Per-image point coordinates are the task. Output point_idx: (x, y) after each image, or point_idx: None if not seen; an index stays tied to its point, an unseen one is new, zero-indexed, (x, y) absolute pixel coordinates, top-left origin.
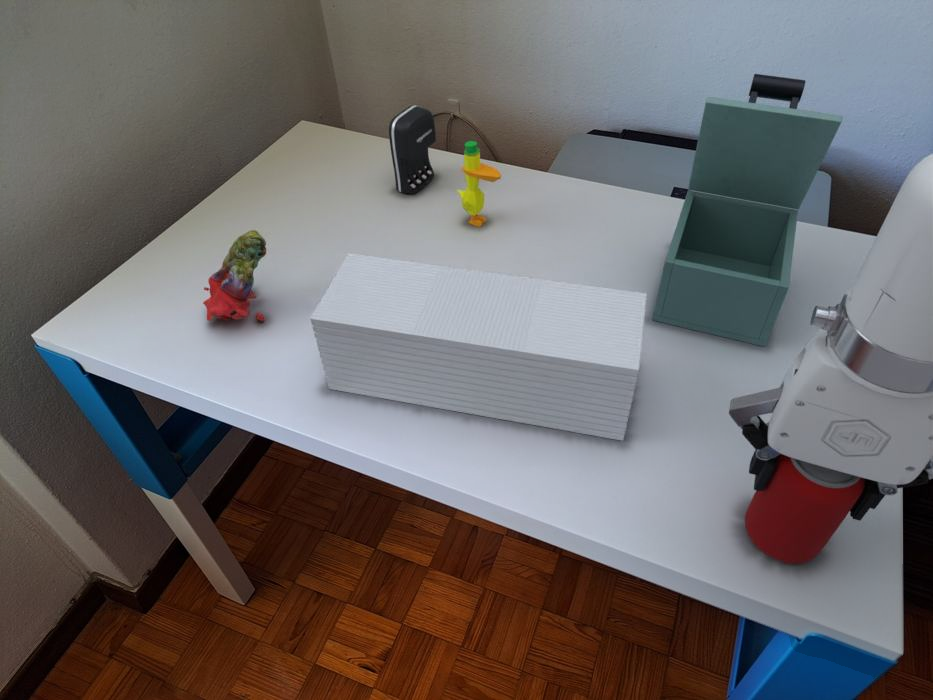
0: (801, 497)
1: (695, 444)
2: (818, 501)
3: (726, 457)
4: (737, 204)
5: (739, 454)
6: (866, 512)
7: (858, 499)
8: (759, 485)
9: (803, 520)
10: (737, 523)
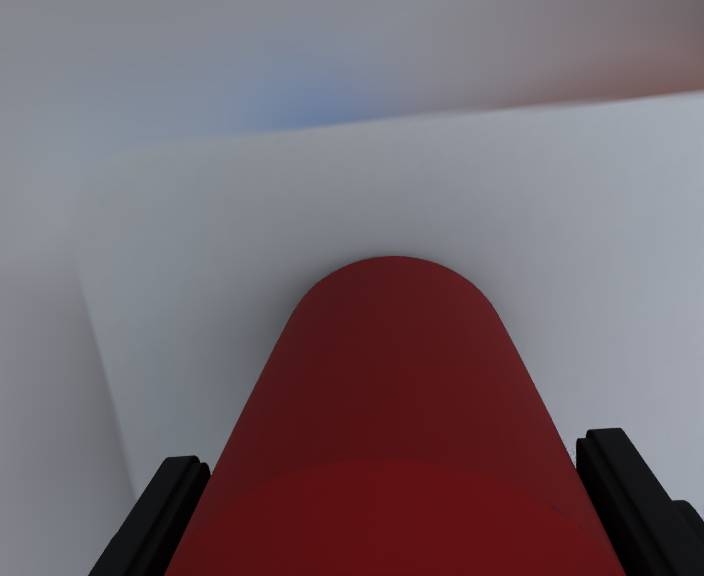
0: (459, 457)
1: None
2: (362, 468)
3: None
4: None
5: None
6: (137, 503)
7: None
8: (626, 453)
9: (383, 359)
10: (517, 332)
